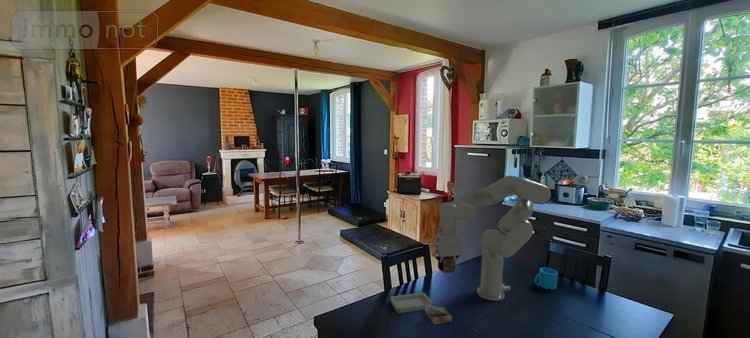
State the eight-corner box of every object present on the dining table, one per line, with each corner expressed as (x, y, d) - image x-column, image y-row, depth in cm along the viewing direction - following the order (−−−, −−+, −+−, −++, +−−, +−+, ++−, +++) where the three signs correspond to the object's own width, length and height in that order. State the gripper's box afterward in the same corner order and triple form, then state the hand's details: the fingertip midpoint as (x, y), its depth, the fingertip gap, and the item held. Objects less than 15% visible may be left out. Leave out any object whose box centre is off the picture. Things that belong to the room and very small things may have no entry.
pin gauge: (443, 309, 134) (426, 303, 132) (446, 313, 132) (429, 306, 129) (440, 315, 134) (424, 309, 132) (443, 318, 132) (426, 312, 129)
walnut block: (448, 267, 148) (449, 255, 147) (454, 271, 143) (454, 259, 142) (438, 268, 146) (439, 255, 146) (443, 273, 142) (444, 260, 141)
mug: (548, 281, 167) (549, 266, 166) (560, 289, 159) (561, 273, 158) (528, 284, 164) (529, 268, 163) (540, 291, 156) (541, 275, 155)
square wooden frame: (443, 311, 137) (443, 306, 137) (452, 321, 130) (452, 317, 129) (425, 313, 135) (426, 309, 135) (434, 324, 128) (434, 319, 127)
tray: (423, 296, 149) (423, 292, 149) (433, 308, 139) (433, 304, 139) (390, 300, 145) (390, 296, 145) (397, 313, 135) (397, 309, 135)
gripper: (434, 234, 137) (432, 274, 139) (469, 231, 141) (467, 270, 143) (426, 229, 144) (425, 267, 146) (460, 226, 148) (459, 264, 150)
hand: (446, 268), depth 145 cm, fingers closed on walnut block, 5 cm apart
